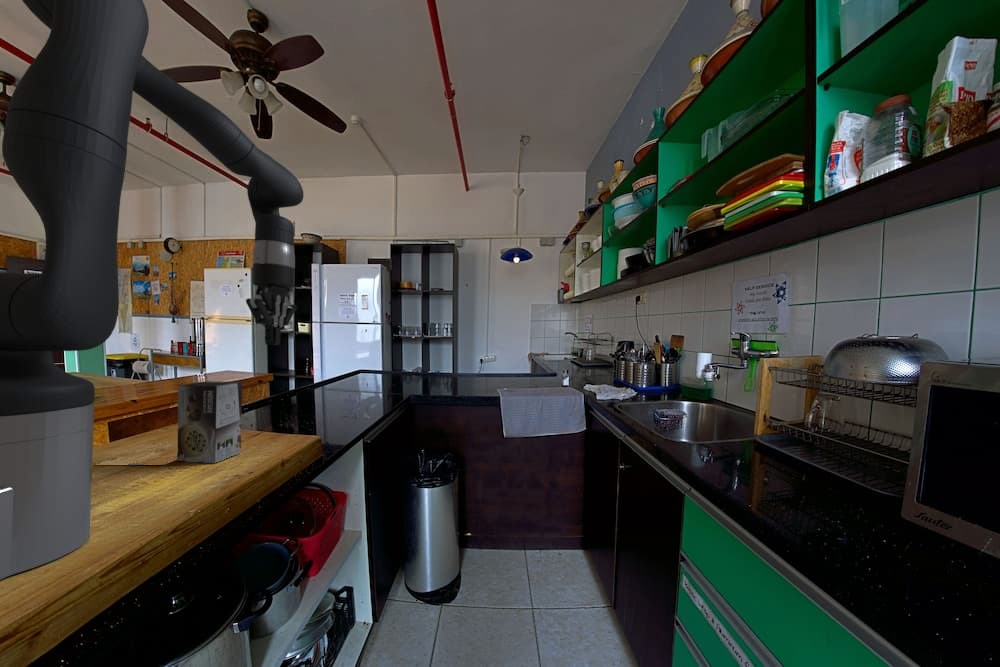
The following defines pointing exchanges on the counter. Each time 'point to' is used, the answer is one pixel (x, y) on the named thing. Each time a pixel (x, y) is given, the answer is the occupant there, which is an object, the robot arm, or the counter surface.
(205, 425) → the coffee box
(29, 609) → the counter surface
